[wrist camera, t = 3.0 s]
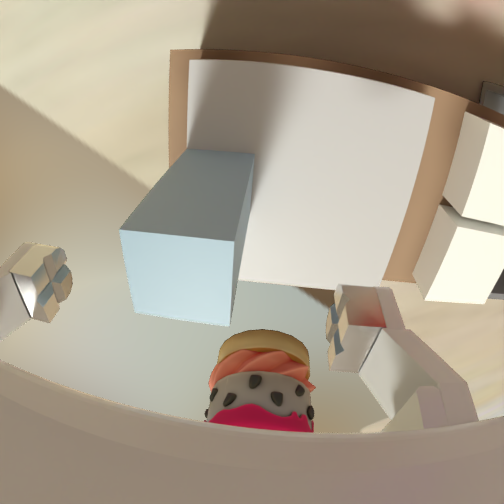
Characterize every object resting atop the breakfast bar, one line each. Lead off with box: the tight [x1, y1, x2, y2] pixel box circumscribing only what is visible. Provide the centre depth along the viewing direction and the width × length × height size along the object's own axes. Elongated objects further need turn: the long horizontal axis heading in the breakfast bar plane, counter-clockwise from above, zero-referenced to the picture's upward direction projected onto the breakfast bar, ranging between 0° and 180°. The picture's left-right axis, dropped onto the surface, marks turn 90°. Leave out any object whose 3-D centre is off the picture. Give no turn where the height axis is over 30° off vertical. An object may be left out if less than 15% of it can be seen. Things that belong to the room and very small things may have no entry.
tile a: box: [442, 112, 504, 226], centre depth 13 cm, size 5×5×2 cm
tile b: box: [412, 204, 504, 304], centre depth 16 cm, size 5×5×2 cm
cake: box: [204, 329, 316, 433], centre depth 28 cm, size 10×11×15 cm
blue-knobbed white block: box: [119, 59, 435, 327], centre depth 12 cm, size 10×11×9 cm
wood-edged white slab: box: [169, 49, 504, 283], centre depth 18 cm, size 20×12×6 cm, turn 85°
